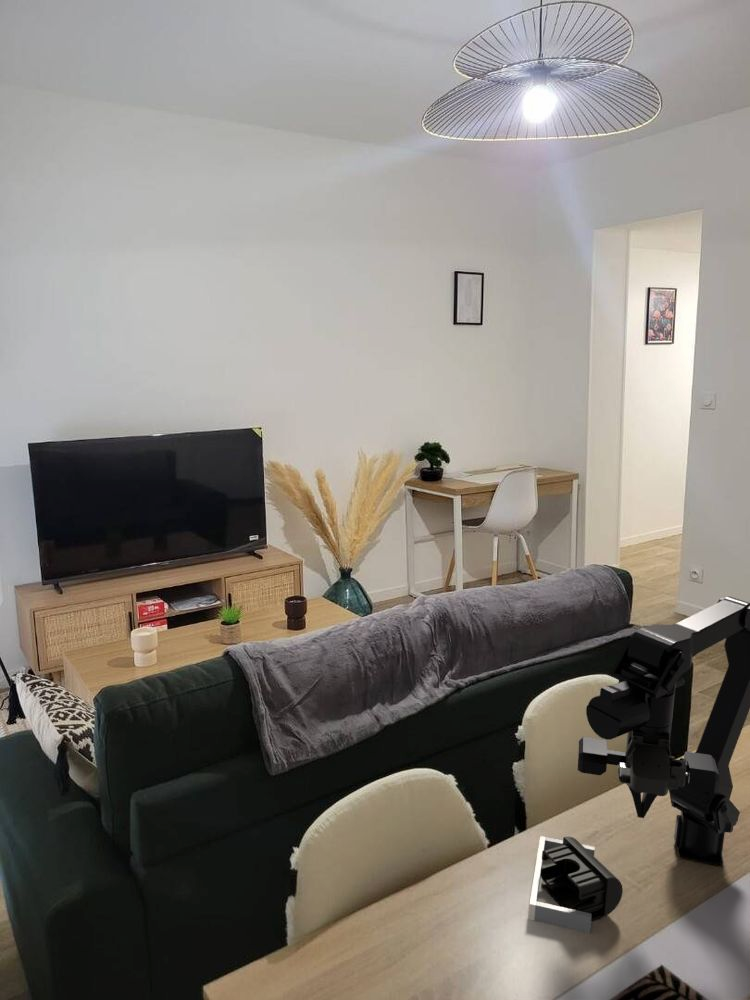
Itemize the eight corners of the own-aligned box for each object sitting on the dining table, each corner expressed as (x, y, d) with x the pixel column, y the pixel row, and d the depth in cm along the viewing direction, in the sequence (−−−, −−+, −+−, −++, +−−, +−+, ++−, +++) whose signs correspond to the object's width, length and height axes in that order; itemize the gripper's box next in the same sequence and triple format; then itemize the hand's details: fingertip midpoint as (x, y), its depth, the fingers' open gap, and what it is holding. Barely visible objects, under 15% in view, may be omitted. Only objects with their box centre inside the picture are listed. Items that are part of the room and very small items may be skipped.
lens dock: (593, 861, 120) (594, 847, 120) (590, 933, 106) (591, 917, 105) (539, 849, 123) (540, 835, 122) (528, 919, 108) (529, 903, 108)
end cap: (621, 915, 109) (625, 873, 108) (580, 929, 107) (584, 886, 105) (576, 870, 118) (580, 831, 117) (537, 882, 116) (540, 842, 114)
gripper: (581, 736, 104) (573, 839, 107) (731, 758, 99) (718, 864, 102) (582, 699, 114) (574, 793, 118) (718, 717, 110) (706, 814, 113)
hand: (640, 816), depth 112 cm, fingers closed
